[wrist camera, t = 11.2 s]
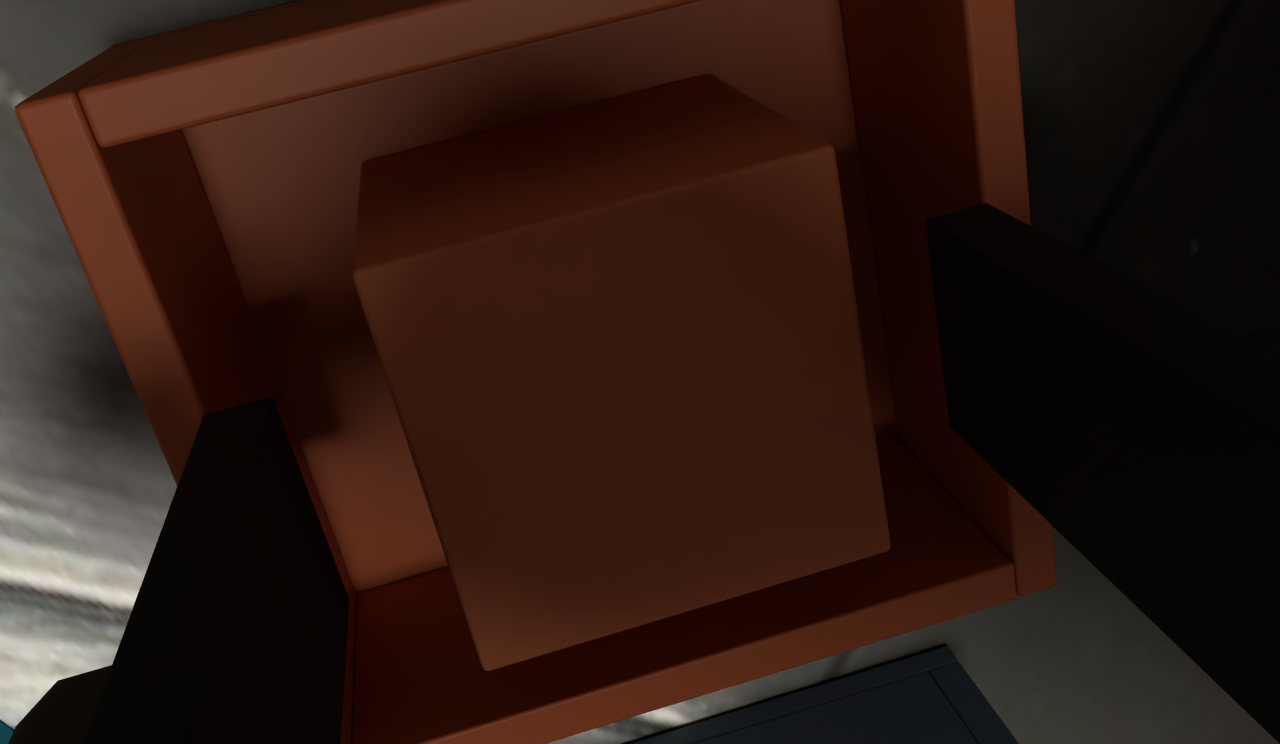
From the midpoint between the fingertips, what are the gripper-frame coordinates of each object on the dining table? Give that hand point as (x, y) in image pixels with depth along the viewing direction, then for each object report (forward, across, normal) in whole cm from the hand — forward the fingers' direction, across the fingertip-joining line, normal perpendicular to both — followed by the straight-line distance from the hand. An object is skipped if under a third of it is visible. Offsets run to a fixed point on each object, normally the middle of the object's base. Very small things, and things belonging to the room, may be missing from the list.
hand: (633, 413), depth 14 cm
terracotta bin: (+5, 0, 0) cm, 5 cm away
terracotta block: (+4, 0, 0) cm, 4 cm away
